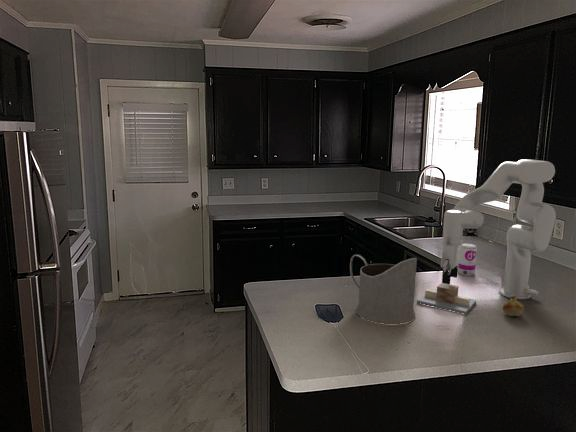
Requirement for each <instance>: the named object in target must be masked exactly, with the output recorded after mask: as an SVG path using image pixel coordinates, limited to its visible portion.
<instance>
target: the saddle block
mask: <svg viewBox="0 0 576 432" xmlns="http://www.w3.org/2000/svg"><path fill="white" fill-rule="evenodd" d="M436 291H437V294H436V300H437V301H441V302H446V303H450V304H453V303H454V296H455V295H456V296H459V285H455V284H451V283H450V284H445V283H442V282H441V283H440V284H438V285H437V286H436Z"/></svg>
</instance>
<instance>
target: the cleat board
mask: <svg viewBox="0 0 576 432" xmlns="http://www.w3.org/2000/svg"><path fill="white" fill-rule="evenodd" d="M436 294H437V290H433V289H425V291H424V293H423V294H422V295H421V296H420V297H418V299H416V304H417V303H421V304H425V305H429V306H434V307H437V308H436V309H438V308H441V309H440V310H442V309H446V310H451V311H455V312H459V313H464V314H466V313H467V312H468V311H469V310H472V308H474V306H475V305H476V304H477V299H474V298H468V297H465V296H459V295H458V296H456V295H455V296H454V303H453V304H450V303H446V302H441V301H437V300H436ZM475 303H476V304H475ZM421 304H420V305H421ZM474 304H475V305H474ZM425 305H424V306H425ZM473 305H474V306H473ZM429 306H428V307H429ZM434 307H433V308H434ZM446 310H445V311H446ZM455 312H454V313H455ZM469 312H470V311H469ZM469 312H468V313H469ZM459 313H458V314H459ZM468 313H467V314H468ZM467 314H466V315H467Z"/></svg>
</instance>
